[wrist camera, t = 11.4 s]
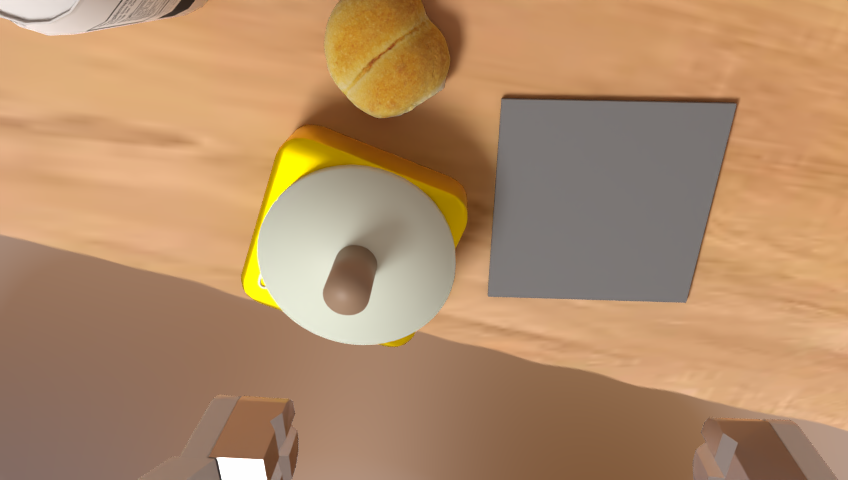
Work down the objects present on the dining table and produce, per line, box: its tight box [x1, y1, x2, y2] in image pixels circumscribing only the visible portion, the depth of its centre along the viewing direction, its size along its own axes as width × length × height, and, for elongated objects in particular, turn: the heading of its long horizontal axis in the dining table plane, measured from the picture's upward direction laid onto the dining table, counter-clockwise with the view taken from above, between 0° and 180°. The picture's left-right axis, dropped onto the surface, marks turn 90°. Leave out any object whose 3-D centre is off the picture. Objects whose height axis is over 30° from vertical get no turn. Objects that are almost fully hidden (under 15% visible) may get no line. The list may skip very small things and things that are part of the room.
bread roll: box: [324, 0, 450, 118], centre depth 39 cm, size 8×9×4 cm
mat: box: [488, 98, 737, 303], centre depth 45 cm, size 17×17×1 cm
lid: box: [257, 165, 456, 345], centre depth 40 cm, size 15×15×6 cm
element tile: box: [241, 125, 468, 347], centre depth 45 cm, size 15×15×5 cm
